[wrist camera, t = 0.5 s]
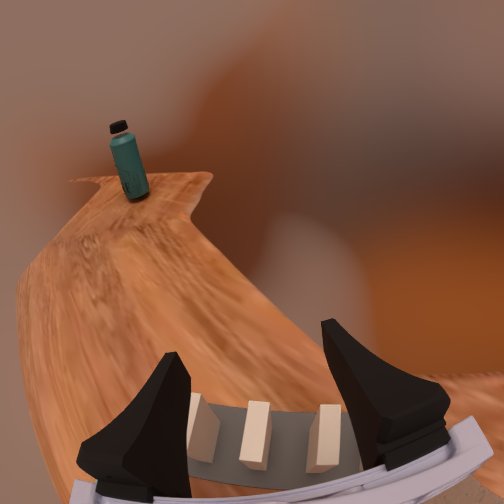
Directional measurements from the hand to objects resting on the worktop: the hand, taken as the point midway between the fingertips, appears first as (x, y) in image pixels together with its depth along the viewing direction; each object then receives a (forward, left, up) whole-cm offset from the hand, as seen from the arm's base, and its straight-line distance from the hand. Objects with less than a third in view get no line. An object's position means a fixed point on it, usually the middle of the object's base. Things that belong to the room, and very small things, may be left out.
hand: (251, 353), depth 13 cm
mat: (-2, 0, -19) cm, 19 cm away
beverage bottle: (+47, +36, -19) cm, 62 cm away
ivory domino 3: (-2, -5, -18) cm, 19 cm away
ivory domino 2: (-2, 0, -18) cm, 18 cm away
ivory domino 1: (-2, +6, -18) cm, 19 cm away
